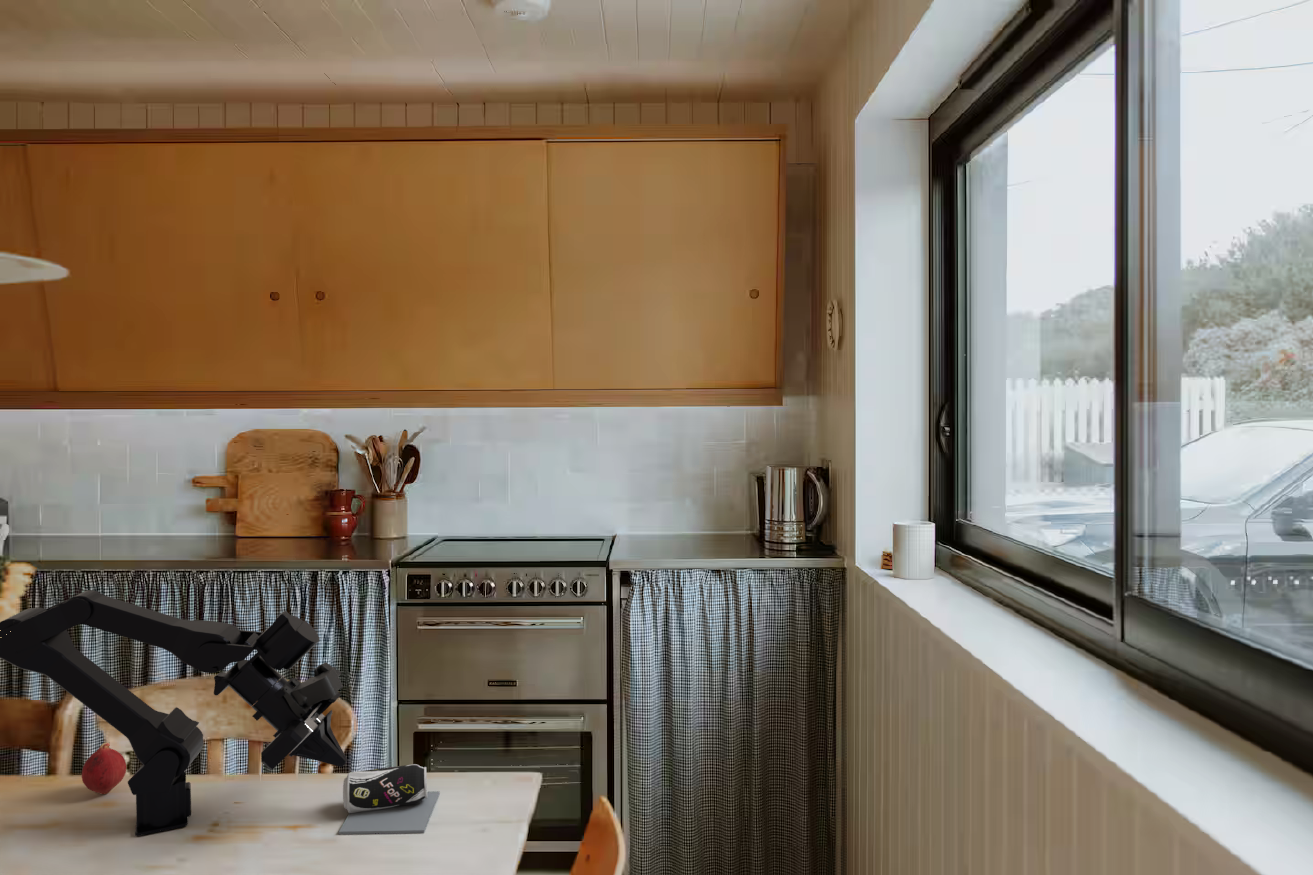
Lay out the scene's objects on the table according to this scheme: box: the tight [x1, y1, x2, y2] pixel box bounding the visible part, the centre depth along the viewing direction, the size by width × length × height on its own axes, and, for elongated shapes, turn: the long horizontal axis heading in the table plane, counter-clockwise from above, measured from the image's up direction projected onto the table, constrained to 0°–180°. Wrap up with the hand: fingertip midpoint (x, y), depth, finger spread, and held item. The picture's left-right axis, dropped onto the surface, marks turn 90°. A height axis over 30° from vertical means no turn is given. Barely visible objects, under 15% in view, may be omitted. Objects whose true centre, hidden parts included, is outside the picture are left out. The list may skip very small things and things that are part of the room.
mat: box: [338, 790, 441, 835], centre depth 130 cm, size 12×12×1 cm
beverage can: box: [342, 763, 428, 814], centre depth 131 cm, size 6×6×12 cm
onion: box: [81, 742, 127, 795], centre depth 134 cm, size 6×6×8 cm
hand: (344, 763), depth 129 cm, fingers closed
